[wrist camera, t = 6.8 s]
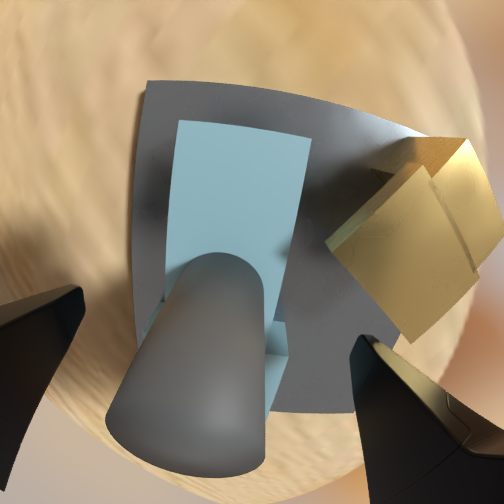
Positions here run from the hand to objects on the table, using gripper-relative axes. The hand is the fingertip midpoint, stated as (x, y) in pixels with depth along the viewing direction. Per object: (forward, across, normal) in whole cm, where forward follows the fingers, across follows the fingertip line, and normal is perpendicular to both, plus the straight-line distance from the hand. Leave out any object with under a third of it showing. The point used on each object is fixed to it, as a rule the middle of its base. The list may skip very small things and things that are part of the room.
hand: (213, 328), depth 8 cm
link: (+4, 0, +1) cm, 4 cm away
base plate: (+5, -2, +1) cm, 6 cm away
